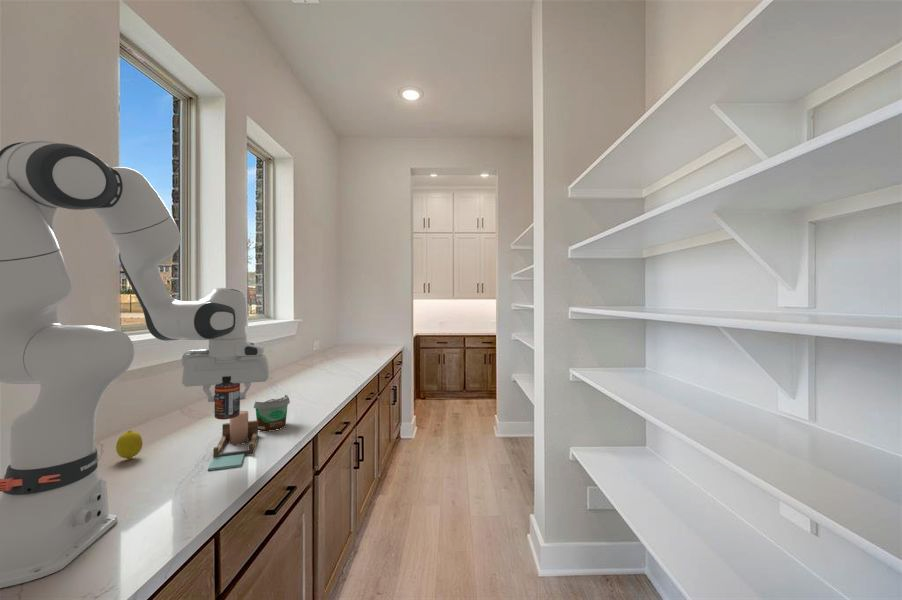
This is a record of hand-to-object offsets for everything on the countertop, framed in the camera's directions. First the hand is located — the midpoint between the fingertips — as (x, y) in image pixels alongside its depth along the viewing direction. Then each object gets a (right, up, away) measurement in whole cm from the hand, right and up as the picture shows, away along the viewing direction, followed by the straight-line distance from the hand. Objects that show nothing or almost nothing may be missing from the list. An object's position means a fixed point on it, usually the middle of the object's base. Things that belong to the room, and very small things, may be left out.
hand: (227, 400), depth 104 cm
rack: (-4, -17, +11) cm, 21 cm away
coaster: (0, -17, 0) cm, 17 cm away
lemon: (-28, -17, +2) cm, 33 cm away
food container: (0, -17, +28) cm, 33 cm away
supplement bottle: (0, -5, 0) cm, 5 cm away
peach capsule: (-5, -17, +15) cm, 23 cm away
